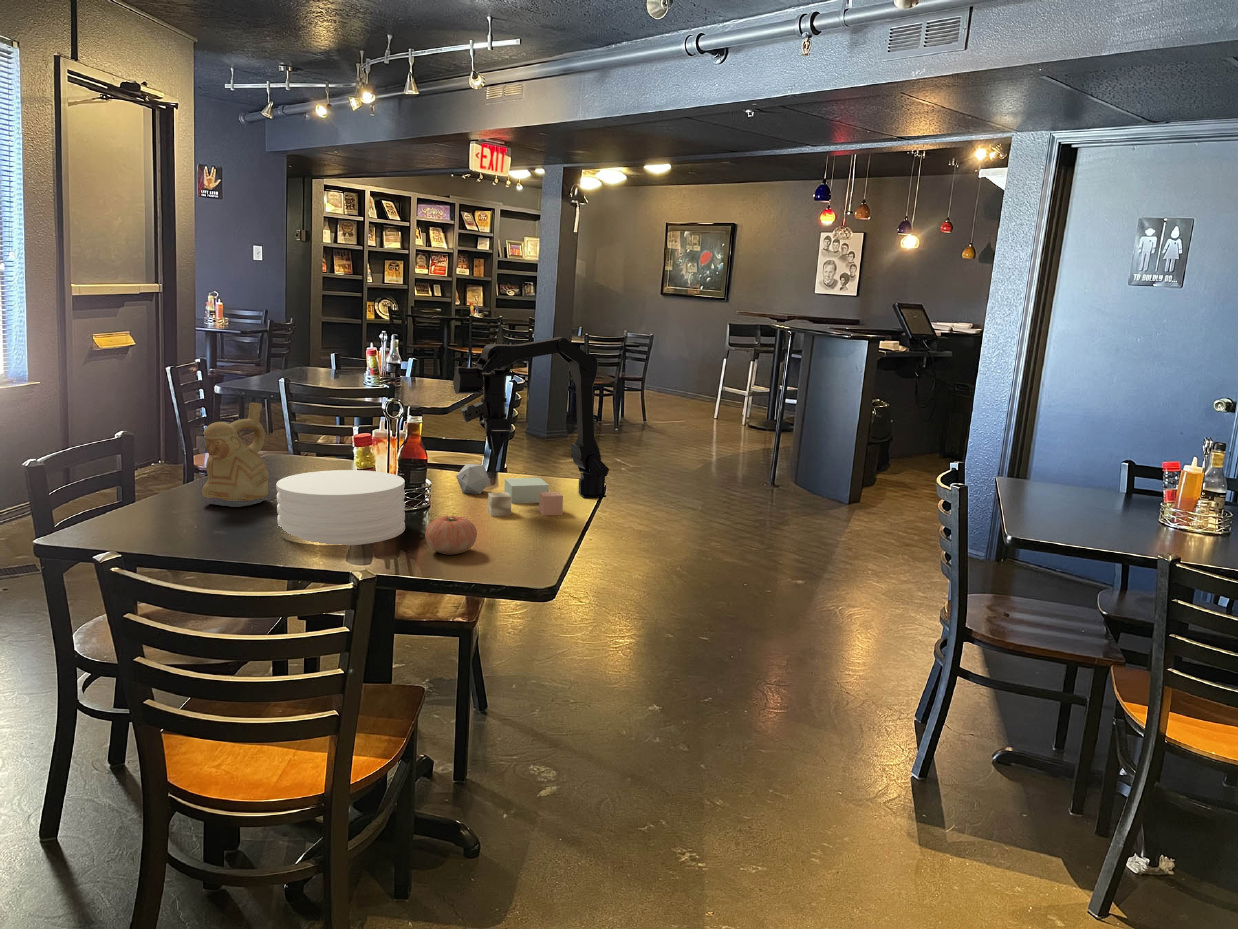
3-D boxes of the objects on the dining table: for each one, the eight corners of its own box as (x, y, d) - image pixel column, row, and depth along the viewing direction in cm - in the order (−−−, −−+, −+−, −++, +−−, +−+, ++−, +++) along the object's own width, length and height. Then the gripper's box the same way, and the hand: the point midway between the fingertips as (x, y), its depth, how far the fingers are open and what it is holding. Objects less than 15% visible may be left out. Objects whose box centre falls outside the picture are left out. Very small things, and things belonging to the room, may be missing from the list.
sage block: (539, 495, 256) (540, 477, 255) (548, 503, 246) (548, 484, 245) (504, 496, 252) (504, 478, 252) (511, 504, 243) (511, 486, 242)
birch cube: (507, 511, 234) (507, 492, 234) (511, 516, 230) (511, 496, 229) (488, 512, 233) (488, 492, 232) (491, 516, 228) (491, 497, 227)
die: (455, 491, 258) (448, 468, 251) (479, 474, 262) (472, 451, 255) (473, 506, 254) (466, 483, 247) (497, 488, 257) (490, 465, 250)
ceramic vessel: (183, 507, 226) (178, 406, 222) (239, 492, 244) (235, 399, 240) (240, 514, 221) (236, 411, 216) (293, 498, 239) (290, 403, 235)
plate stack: (430, 529, 215) (430, 481, 213) (332, 554, 192) (331, 500, 190) (350, 510, 230) (350, 465, 228) (251, 531, 207) (249, 481, 205)
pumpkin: (421, 547, 199) (421, 511, 197) (470, 544, 203) (471, 509, 201) (430, 561, 189) (430, 523, 187) (481, 557, 193) (482, 520, 191)
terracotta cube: (557, 510, 237) (558, 491, 236) (562, 515, 233) (562, 495, 232) (538, 511, 236) (539, 492, 235) (543, 515, 231) (543, 496, 230)
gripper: (459, 389, 244) (458, 446, 247) (467, 397, 226) (466, 459, 229) (501, 389, 247) (500, 446, 250) (511, 397, 229) (510, 458, 232)
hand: (493, 452), depth 240 cm, fingers open, 9 cm apart
